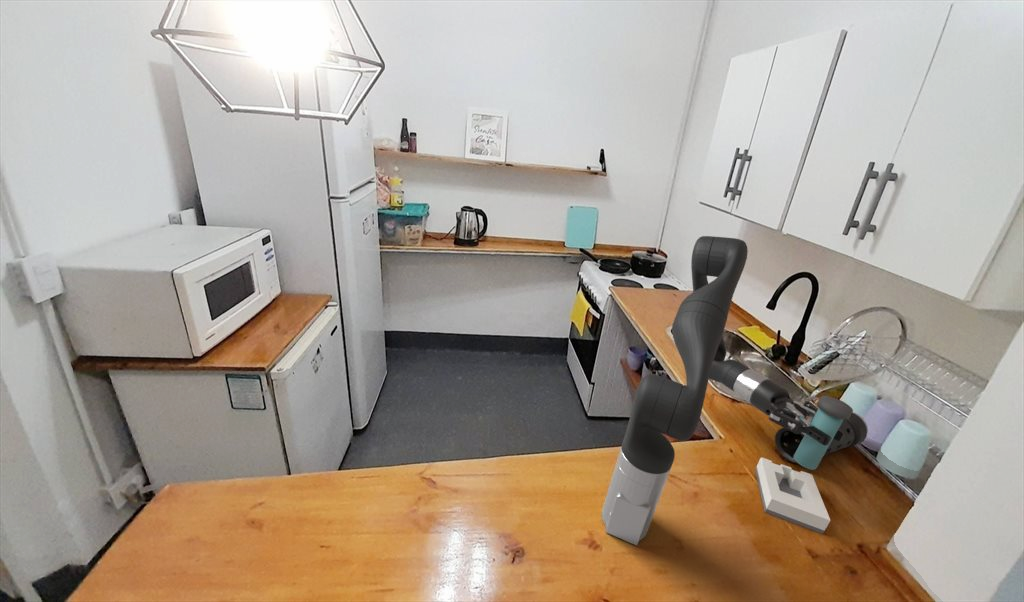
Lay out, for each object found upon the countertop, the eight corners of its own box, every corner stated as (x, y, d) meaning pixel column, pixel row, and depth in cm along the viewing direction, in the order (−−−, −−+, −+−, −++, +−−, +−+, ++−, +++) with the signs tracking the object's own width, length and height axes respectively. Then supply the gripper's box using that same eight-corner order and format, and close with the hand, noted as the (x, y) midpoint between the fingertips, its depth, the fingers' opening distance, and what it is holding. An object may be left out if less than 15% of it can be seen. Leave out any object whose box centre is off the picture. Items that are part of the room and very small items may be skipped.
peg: (823, 475, 85) (857, 416, 79) (793, 465, 87) (824, 406, 81) (815, 458, 90) (847, 401, 84) (787, 449, 92) (816, 392, 86)
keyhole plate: (822, 534, 85) (830, 520, 83) (764, 512, 88) (771, 498, 87) (805, 487, 97) (812, 474, 96) (755, 469, 100) (760, 457, 99)
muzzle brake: (766, 449, 109) (781, 418, 105) (825, 430, 121) (840, 401, 117) (802, 475, 101) (819, 443, 97) (860, 452, 113) (878, 423, 109)
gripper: (746, 382, 93) (824, 432, 79) (783, 374, 99) (862, 419, 85) (735, 409, 95) (808, 461, 81) (772, 399, 102) (846, 446, 88)
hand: (835, 439), depth 83 cm, fingers closed on peg, 4 cm apart
